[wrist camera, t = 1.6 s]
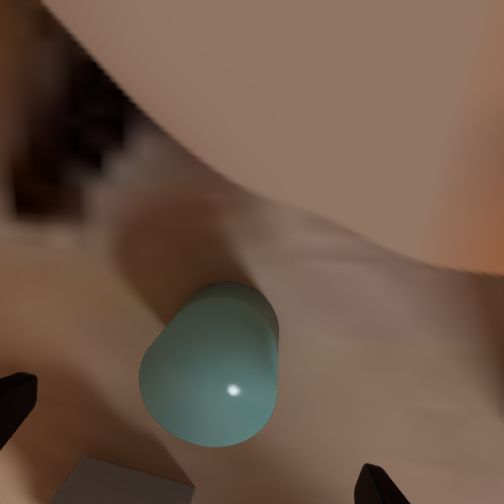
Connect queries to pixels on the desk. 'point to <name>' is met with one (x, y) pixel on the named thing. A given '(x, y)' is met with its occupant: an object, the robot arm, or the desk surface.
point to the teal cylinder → (214, 367)
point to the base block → (118, 486)
